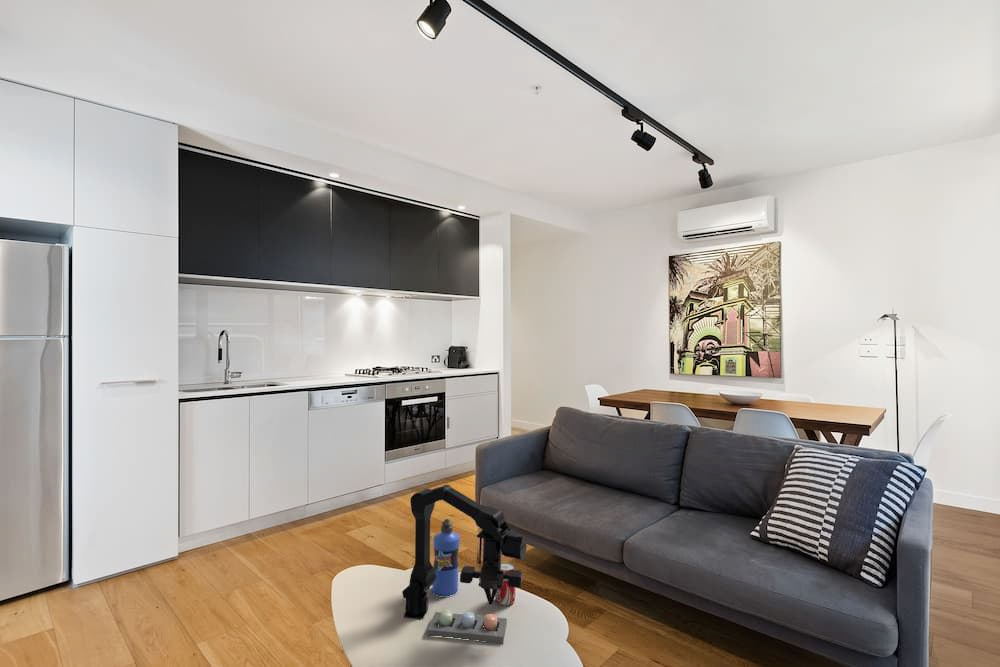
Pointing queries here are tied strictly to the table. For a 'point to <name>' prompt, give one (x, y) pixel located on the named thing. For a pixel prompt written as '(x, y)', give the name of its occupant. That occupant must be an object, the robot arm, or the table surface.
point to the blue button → (468, 620)
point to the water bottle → (446, 560)
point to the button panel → (468, 633)
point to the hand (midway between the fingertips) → (490, 604)
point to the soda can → (506, 588)
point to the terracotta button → (490, 622)
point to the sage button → (445, 618)
